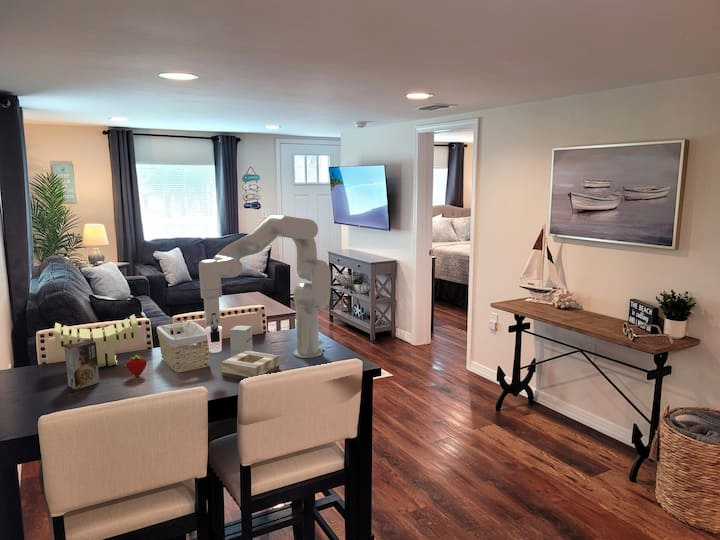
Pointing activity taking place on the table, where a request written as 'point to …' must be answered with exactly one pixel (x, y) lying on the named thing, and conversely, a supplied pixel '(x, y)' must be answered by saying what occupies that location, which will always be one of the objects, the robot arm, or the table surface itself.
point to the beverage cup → (214, 346)
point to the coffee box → (81, 363)
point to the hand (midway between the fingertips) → (214, 338)
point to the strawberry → (136, 365)
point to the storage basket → (184, 346)
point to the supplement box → (240, 339)
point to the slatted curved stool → (100, 338)
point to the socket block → (250, 364)
